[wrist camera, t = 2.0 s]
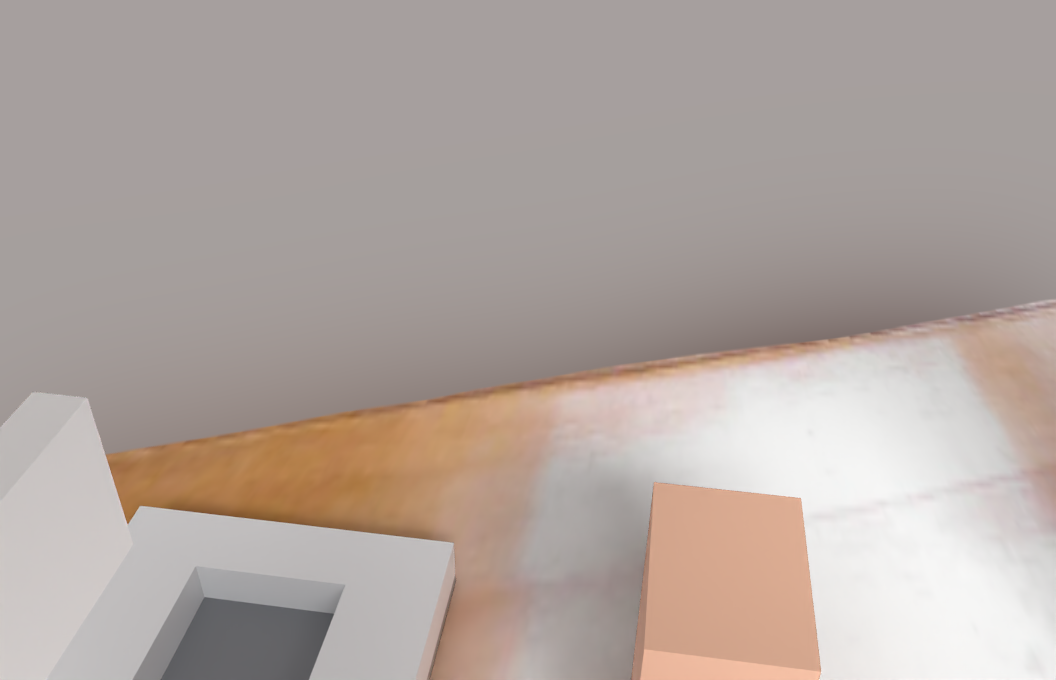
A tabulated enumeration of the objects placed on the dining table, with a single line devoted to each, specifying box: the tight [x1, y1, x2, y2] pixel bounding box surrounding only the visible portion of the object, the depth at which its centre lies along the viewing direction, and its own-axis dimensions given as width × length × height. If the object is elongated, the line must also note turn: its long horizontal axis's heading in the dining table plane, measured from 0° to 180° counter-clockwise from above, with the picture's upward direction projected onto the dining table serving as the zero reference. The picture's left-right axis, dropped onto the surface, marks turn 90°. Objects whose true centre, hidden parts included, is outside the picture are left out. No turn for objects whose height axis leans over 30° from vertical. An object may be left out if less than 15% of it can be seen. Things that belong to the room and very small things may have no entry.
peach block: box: [631, 482, 821, 680], centre depth 34 cm, size 5×7×11 cm
